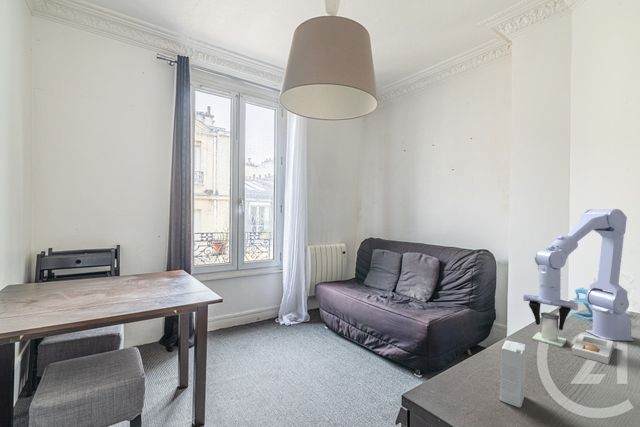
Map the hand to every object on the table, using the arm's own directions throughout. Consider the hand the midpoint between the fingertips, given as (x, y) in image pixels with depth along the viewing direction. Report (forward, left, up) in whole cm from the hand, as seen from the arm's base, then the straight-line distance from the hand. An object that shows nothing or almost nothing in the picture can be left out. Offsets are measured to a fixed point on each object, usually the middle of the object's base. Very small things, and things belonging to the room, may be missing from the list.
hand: (549, 326), depth 102 cm
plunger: (-5, +11, -4) cm, 12 cm away
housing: (-8, +8, -4) cm, 12 cm away
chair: (-32, -25, -5) cm, 41 cm away
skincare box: (+32, +34, -5) cm, 47 cm away
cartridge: (0, 0, -4) cm, 4 cm away
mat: (0, 0, -4) cm, 4 cm away
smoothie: (-42, -35, -5) cm, 55 cm away
